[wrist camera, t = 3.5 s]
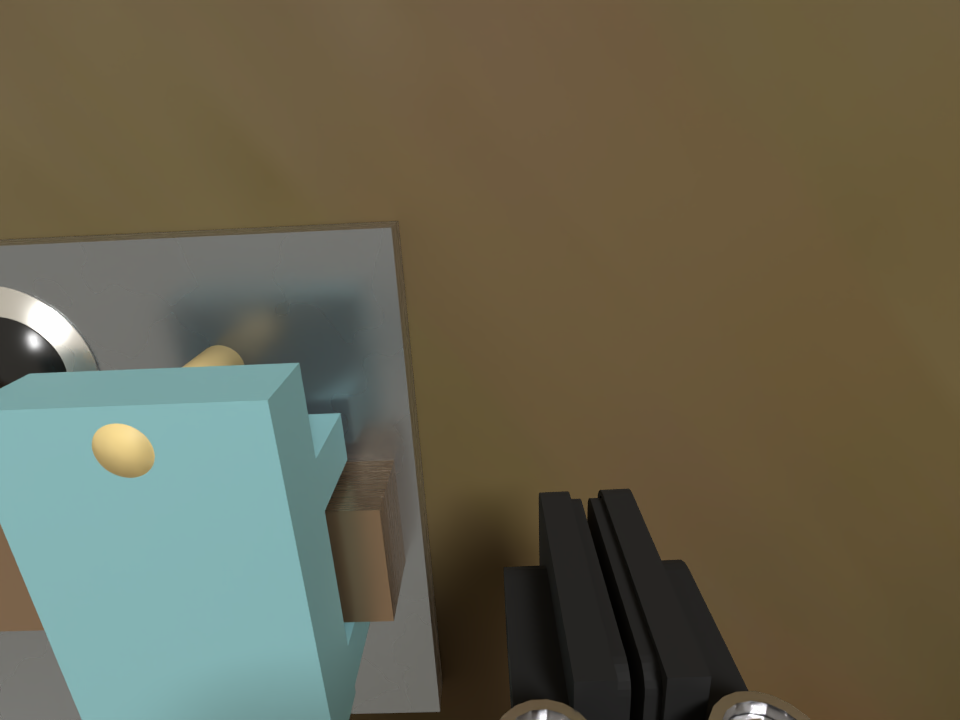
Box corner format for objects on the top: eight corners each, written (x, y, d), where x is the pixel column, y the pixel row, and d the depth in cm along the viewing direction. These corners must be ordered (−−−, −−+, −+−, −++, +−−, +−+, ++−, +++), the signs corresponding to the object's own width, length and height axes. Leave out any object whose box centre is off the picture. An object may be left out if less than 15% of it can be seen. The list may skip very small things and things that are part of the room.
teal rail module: (329, 327, 12) (267, 400, 9) (372, 621, 15) (339, 762, 12) (101, 337, 13) (-47, 412, 9) (187, 626, 15) (101, 766, 12)
